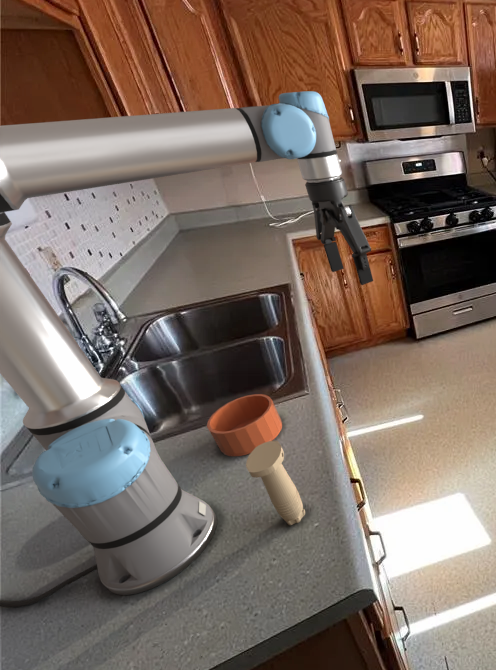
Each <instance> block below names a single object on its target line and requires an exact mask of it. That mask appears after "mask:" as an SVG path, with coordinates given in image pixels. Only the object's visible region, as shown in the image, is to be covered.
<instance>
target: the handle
mask: <svg viewBox="0 0 496 670" xmlns="http://www.w3.org/2000/svg"><path fill="white" fill-rule="evenodd" d="M284 459H285V452H284V449H283V447H282V445H281V443H280V442H279V441H278V440H273V441H269V442H266V443H263V444H260V445H259V446H257V447H256V448H255V449H254V450H253V451H252V452H251V453H250V454H248V457H247V459H246V463H245V467H246V470H247V472H249V475H250V477H252V478H255V479H257V478H261V479H260V480H261V481H262V483H263V485H264V487H265V490H266V492H267V495H268V498H269V499H270V501H271V503H272V505H273V507H274V509H275V511H276V512H277V514H278V515H279V516H280V517H281V518H282V519H283V520H284V521H285V522H286V524H287V525H288V526H293V525H295V524H299V523H300V522H301V521H302V519H303V517H305V515H306V510H305V508H304V505H303V501H302V498H301V496H300V495H301V494H300V493H299V491H298V489H297V487H296V485H295V483H294V482H293V480H292V478H291V477H290V475H289V474H288V472H287V470H286V468H285V467H284V465H283V464H282V463H283V462H284Z"/></svg>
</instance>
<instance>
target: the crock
mask: <svg viewBox="0 0 496 670" xmlns="http://www.w3.org/2000/svg"><path fill="white" fill-rule="evenodd" d="M206 428H207V429H208V432H209V433H210V435H211V436H212V438H213V440H214V442H215V444H216V445H217V447H218V448H219V450H220V452H221V453H222V454H223V455H225V456H228V457H241V456H246V455H250V453H251V452H252V451H253V450H254V449H255V448H256V447H257V446H259V445H260V444H263V443H266V442H269V441H275V440H276V438H277V437H278V435H279V434H280V433H281V431H282V428H283V421H282V419H281V417H280V414H279V412H278V410H277V408H276V406H275V403H274V401H273V399H272V398H271V397H270V396H269V395H267V394H264V393H255V394H249V395H244V396H241V397H238V398H236V399H233V400H231V401H229V402H227V403H225V404H224V405H222V406H221V407H219V408H218V409H217V410H215V412H213V413H212V414H211V416H209V418H208V420H207V424H206Z"/></svg>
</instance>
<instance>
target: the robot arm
mask: <svg viewBox="0 0 496 670" xmlns="http://www.w3.org/2000/svg"><path fill="white" fill-rule="evenodd" d="M278 101H279V102H278V103H272V104H268V105H254V106H244V107H229V108H217V109H203V110H190V111H176V112H164V113H151V114H137V115H136V114H135V115H123V116H112V117H99V118H86V119H71V120H59V121H45V122H44V121H43V122H34V123H18V124H6V125H0V375H1V376H2V378H3V379H4V380H5V381H6V382H7V384H8V385H9V386H10V387H11V389H12V390H13V391H14V392H15V393H16V394H17V396H18V397H19V398H20V399H21V401H22V402H23V403H24V404H25V405H26V406H27V407H28V410H27V412H26V413H25V414H24V416H23V419H22V424H23V426H25V428H26V429H27V430H28V432H29V433H30V434H31V435H32V436H33V437H34V438H35V440H36V441H37V442H38V443H39V444H40V445H41V446H42V447H43V449H44V451H42V452H40V454H39V455H38V456H37V458H36V459H35V461H34V464H33V466H32V470H31V471H32V472H31V477H32V480H33V482H34V484H35V485H36V487H37V490H38V493H39V494H40V495H41V496H42V498H44V499H45V500H46V501H47V502H49V503H51V505H53V506H54V508H56V509H57V510H58V512H59V513H60V514H61V515H62V516H63V517H64V518H65V519H66V520H67V521H68V522H69V523H70V524H71V525H72V526H73V527H74V529H75V530H77V532H78V533H79V534H80V535H81V536H82V537H83V538H84V539H85V540H86V541H87V543H89V544H90V545H91V546H92V547H93V552H94V557H95V558H94V559H95V563H96V564H94V565H92V566H91V567H88V568H87V569H85V570H82V571H81V572H79V573H77V574H75V575H73V576H71V577H69V578H67V579H66V580H64V581H61V583H59V584H57V585H55V586H54V587H52V588H51V589H49V590H47V591H45V592H44V593H41V594H39V595H37V596H35V597H32V598H29V599H24V600H6V599H5V600H4V599H2V600H1V599H0V607H5V608H18V607H25V606H29V605H32V604H35V603H38V602H40V601H42V600H44V599H47V598H48V597H50V596H52V595H53V594H55V593H57V592H58V591H60V590H62V589H63V588H65V587H66V586H68V585H70V584H72V583H74V582H76V581H78V580H79V579H82V578H83V577H85V576H87V575H89V574H91V573H93V572H95V571H96V570H97V573H98V577H99V580H100V582H101V583H102V585H103V586H104V587H105V588H106V589H108V591H110V592H111V593H113V594H116V595H121V596H126V595H127V596H129V595H136V594H139V593H143V592H146V591H149V590H152V589H154V588H156V587H158V586H160V585H163V584H165V583H166V582H168V581H169V580H172V579H173V578H174V577H176V576H177V575H179V574H180V573H181V572H183V571H184V570H185V569H186V568H188V567H189V566H190V565H191V564H192V563H193V562H194V561H195V560H196V559H197V558H198V557H199V556H200V555H201V554H202V553H203V552H204V551H205V549H206V548H207V546H209V544H210V543H211V540H212V539H213V537H214V535H215V532H216V529H217V524H218V518H217V515H216V513H215V512H214V509H213V508H212V507H211V505H210V504H209V503H207V502H205V501H204V500H202V499H201V498H199V497H197V496H195V495H193V494H191V493H190V492H188V491H185V490H184V489H182V488H181V486H180V485H179V483H178V482H177V481H176V479H175V477H174V476H173V475H172V473H171V471H170V470H169V469H168V467H167V466H166V465H165V463H164V461H163V460H162V459H161V456H160V455H159V452H158V450H157V448H156V445H155V443H154V441H153V438H152V436H151V433H150V431H149V428H148V425H147V422H146V420H145V414H144V412H143V409H142V407H140V405H139V404H138V402H136V401H134V399H133V398H132V397H130V396H129V395H128V393H127V392H126V390H125V389H124V387H123V386H122V384H121V383H120V382H119V381H118V380H116V379H113V378H106V377H101V375H100V373H99V372H98V371H97V369H96V368H95V367H94V365H93V363H92V362H91V361H90V359H89V358H88V356H87V355H86V354H85V352H84V350H83V349H82V348H81V346H80V345H79V344H78V342H77V341H76V339H75V337H73V335H72V333H71V332H70V330H69V329H68V327H67V326H66V325H65V323H64V322H63V320H62V319H61V318H60V316H59V315H58V313H57V312H56V310H55V309H54V307H53V306H52V305H51V303H50V302H49V300H48V299H47V297H46V296H45V294H44V293H43V292H42V290H41V289H40V288H39V286H38V285H37V283H36V282H35V280H34V279H33V277H32V276H31V275H30V272H28V270H27V268H25V266H24V264H23V263H22V261H21V260H20V259H19V257H18V255H17V254H16V253H15V252H14V250H13V248H12V247H11V245H10V244H9V243H8V242H7V240H6V235H7V233H8V232H9V230H10V229H11V226H12V225H13V223H12V221H11V219H10V218H9V217H8V215H7V214H6V212H12V211H18V210H20V208H21V207H22V205H23V204H24V202H25V201H26V200H27V199H31V198H32V199H33V198H38V197H39V198H40V197H44V196H51V195H56V194H64V193H68V192H69V193H71V192H75V191H82V190H83V191H84V190H89V189H94V188H102V187H107V186H113V185H114V186H115V185H120V184H127V183H133V182H139V181H145V180H151V179H158V178H164V177H165V178H166V177H172V176H178V175H183V174H190V173H196V172H203V171H208V170H216V169H223V168H228V167H234V166H235V167H236V166H241V165H248V164H253V163H262V162H263V163H264V162H269V161H275V160H281V159H282V160H283V159H287V160H296V161H297V164H298V168H299V171H300V174H301V177H302V179H303V180H304V181H306V182H305V184H304V186H305V189H306V192H307V197H308V199H309V201H310V202H311V205H312V209H313V216H314V225H315V236H316V239H317V241H320V243H321V244H322V245H323V248H324V251H325V255H326V258H327V262H328V264H329V268H330V271H331V272H332V273H335V272H338V271H341V270H344V269H345V267H344V265H343V264H344V263H343V260H342V257H341V254H340V251H339V247H338V245H337V242H336V241H337V238H336V237H335V232H336V230H338V231H339V232H340V233H341V235H342V236H343V238H344V240H345V241H346V243H347V245H348V247H349V248H350V250H351V251H352V253H351V257H352V260H353V263H354V267H355V270H356V273H357V277H358V281H359V284H360V285H361V286H364V285H366V284H369V283H372V282H374V277H373V274H372V271H371V266H370V263H369V259H368V255H367V254H368V253H371V252H372V247H371V246H370V242H369V241H368V239H367V237H366V235H365V233H364V230H363V229H362V227H361V224H360V223H359V220H358V217H357V216H356V213H355V210H354V207H353V205H352V204H346V205H345V204H344V202H343V199H344V198H346V197H348V195H349V192H348V189H347V185H346V181H345V178H343V176H342V175H343V170H342V167H341V162H342V160H341V158H340V157H339V156H338V151H337V148H336V144H335V140H334V136H333V132H332V127H331V123H330V116H329V114H328V111H327V109H326V106H325V103H324V100H323V97H322V96H321V94H320V93H318V91H311V90H309V91H307V90H306V91H293V92H284V93H280V94H279V95H278ZM341 176H342V177H341Z"/></svg>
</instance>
